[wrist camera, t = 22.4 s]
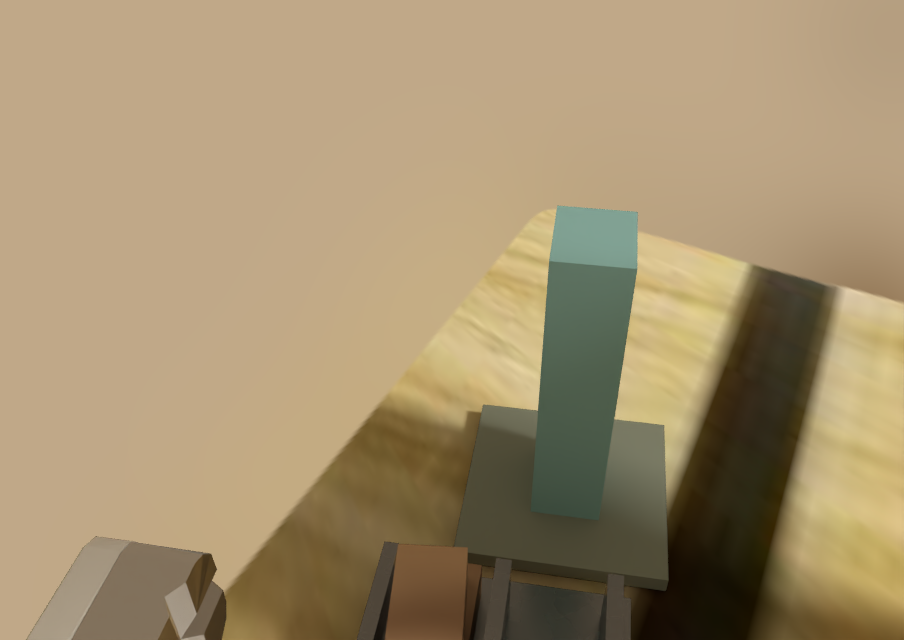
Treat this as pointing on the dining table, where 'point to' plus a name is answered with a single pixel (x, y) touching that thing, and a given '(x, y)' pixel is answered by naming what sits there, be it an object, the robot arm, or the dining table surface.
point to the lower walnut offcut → (472, 599)
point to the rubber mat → (562, 537)
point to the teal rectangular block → (582, 356)
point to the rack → (518, 608)
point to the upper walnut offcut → (428, 593)
